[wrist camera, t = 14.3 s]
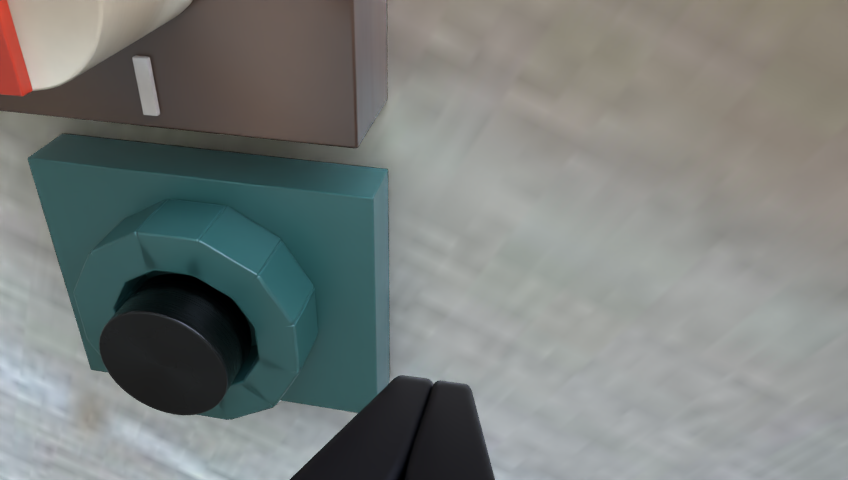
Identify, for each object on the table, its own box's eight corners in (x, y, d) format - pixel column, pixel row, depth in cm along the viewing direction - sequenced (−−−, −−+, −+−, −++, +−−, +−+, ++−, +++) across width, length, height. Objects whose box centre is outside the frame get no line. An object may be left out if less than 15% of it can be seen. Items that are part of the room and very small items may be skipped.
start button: (244, 282, 20) (216, 322, 18) (258, 381, 22) (234, 425, 20) (120, 264, 20) (84, 303, 19) (145, 363, 22) (113, 404, 21)
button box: (388, 168, 21) (354, 234, 18) (390, 380, 25) (362, 460, 22) (62, 132, 22) (-18, 188, 19) (117, 338, 27) (58, 408, 24)
